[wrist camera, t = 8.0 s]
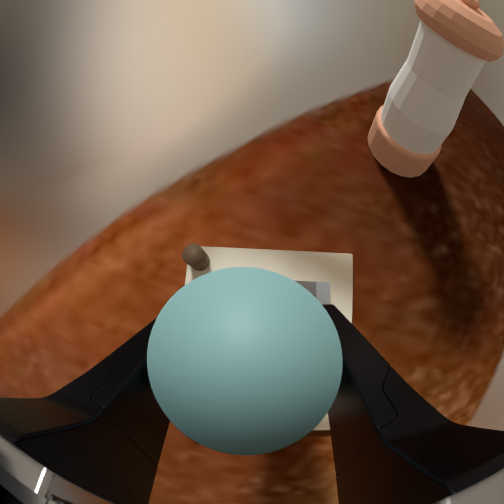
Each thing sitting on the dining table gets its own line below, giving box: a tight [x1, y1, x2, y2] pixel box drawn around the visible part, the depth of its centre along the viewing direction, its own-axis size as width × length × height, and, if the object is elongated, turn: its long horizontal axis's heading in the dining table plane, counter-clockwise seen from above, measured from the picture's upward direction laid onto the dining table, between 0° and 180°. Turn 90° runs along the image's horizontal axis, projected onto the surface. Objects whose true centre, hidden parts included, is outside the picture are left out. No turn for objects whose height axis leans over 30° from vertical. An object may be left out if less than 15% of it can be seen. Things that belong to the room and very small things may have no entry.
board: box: [182, 244, 353, 430], centre depth 19 cm, size 14×13×3 cm
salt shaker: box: [368, 0, 504, 178], centre depth 15 cm, size 7×7×19 cm
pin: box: [147, 267, 343, 455], centre depth 10 cm, size 4×4×10 cm
